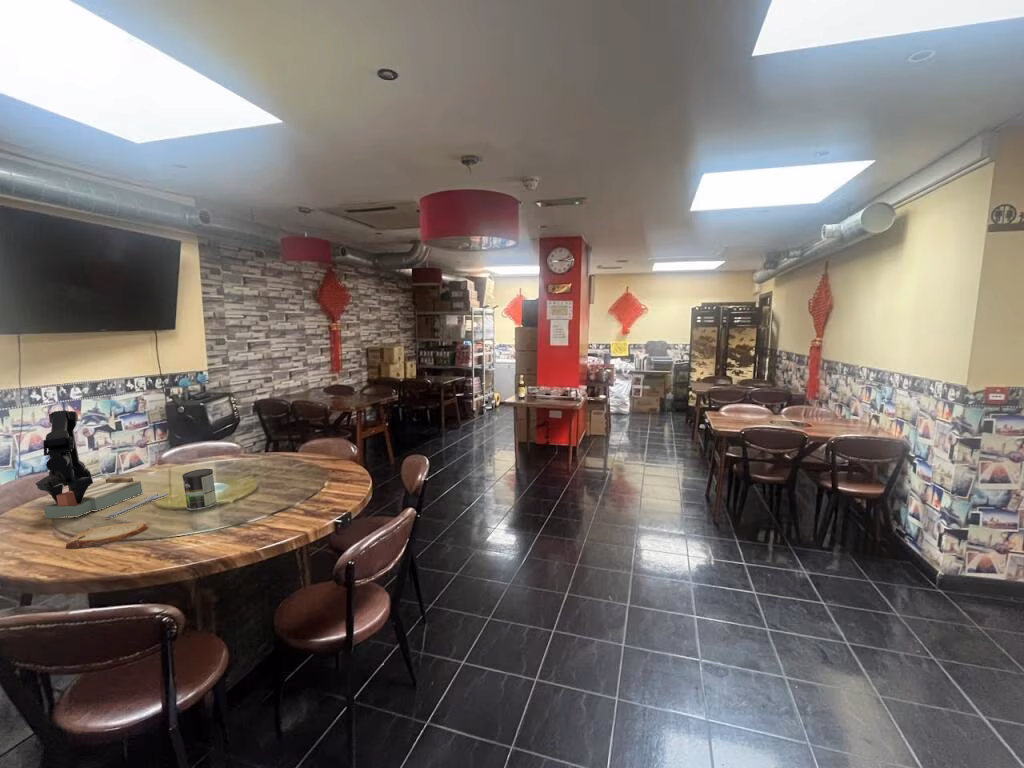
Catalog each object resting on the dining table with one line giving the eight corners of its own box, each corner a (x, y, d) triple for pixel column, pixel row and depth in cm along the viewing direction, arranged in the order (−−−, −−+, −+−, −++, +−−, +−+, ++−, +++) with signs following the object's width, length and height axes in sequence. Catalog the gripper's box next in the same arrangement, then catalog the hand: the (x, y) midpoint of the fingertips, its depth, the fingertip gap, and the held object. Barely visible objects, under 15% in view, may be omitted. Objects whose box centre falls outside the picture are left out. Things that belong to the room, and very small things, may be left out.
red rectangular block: (60, 516, 178) (56, 495, 177) (72, 512, 182) (68, 491, 181) (69, 516, 177) (65, 495, 176) (81, 512, 182) (77, 491, 180)
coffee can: (190, 512, 175) (185, 478, 173) (184, 506, 182) (179, 473, 180) (220, 504, 182) (215, 471, 181) (213, 498, 190) (209, 467, 188)
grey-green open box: (41, 518, 177) (39, 506, 177) (107, 494, 203) (105, 483, 202) (80, 518, 175) (78, 506, 174) (142, 493, 201) (140, 483, 200)
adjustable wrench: (110, 520, 172) (109, 516, 172) (97, 520, 174) (96, 516, 173) (170, 496, 197) (170, 492, 196) (158, 496, 198) (158, 492, 198)
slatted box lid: (56, 499, 183) (55, 493, 182) (105, 483, 202) (104, 477, 202) (95, 499, 181) (93, 493, 180) (140, 482, 200) (140, 477, 200)
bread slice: (153, 528, 163) (152, 518, 162) (97, 552, 145) (96, 541, 145) (117, 525, 167) (115, 515, 166) (58, 548, 150) (56, 538, 149)
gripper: (17, 472, 170) (25, 511, 172) (60, 472, 168) (67, 511, 170) (50, 464, 181) (57, 500, 183) (90, 463, 179) (97, 500, 181)
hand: (68, 503), depth 179 cm, fingers open, 9 cm apart
